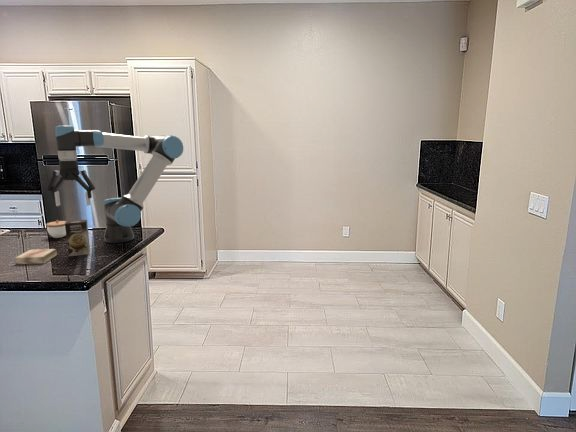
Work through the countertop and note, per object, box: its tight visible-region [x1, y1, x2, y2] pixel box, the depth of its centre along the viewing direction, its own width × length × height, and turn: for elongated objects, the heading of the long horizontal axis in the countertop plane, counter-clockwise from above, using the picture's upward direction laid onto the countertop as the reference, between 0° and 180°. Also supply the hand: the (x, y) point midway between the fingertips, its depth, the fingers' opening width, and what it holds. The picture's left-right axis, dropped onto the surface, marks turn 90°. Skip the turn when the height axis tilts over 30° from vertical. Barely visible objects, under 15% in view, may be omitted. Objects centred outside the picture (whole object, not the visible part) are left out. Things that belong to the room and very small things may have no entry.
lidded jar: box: [45, 219, 67, 239], centre depth 216 cm, size 11×11×9 cm
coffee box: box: [65, 219, 91, 257], centre depth 184 cm, size 9×6×16 cm
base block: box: [14, 248, 58, 265], centre depth 177 cm, size 12×12×3 cm
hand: (73, 205), depth 181 cm, fingers open, 13 cm apart
